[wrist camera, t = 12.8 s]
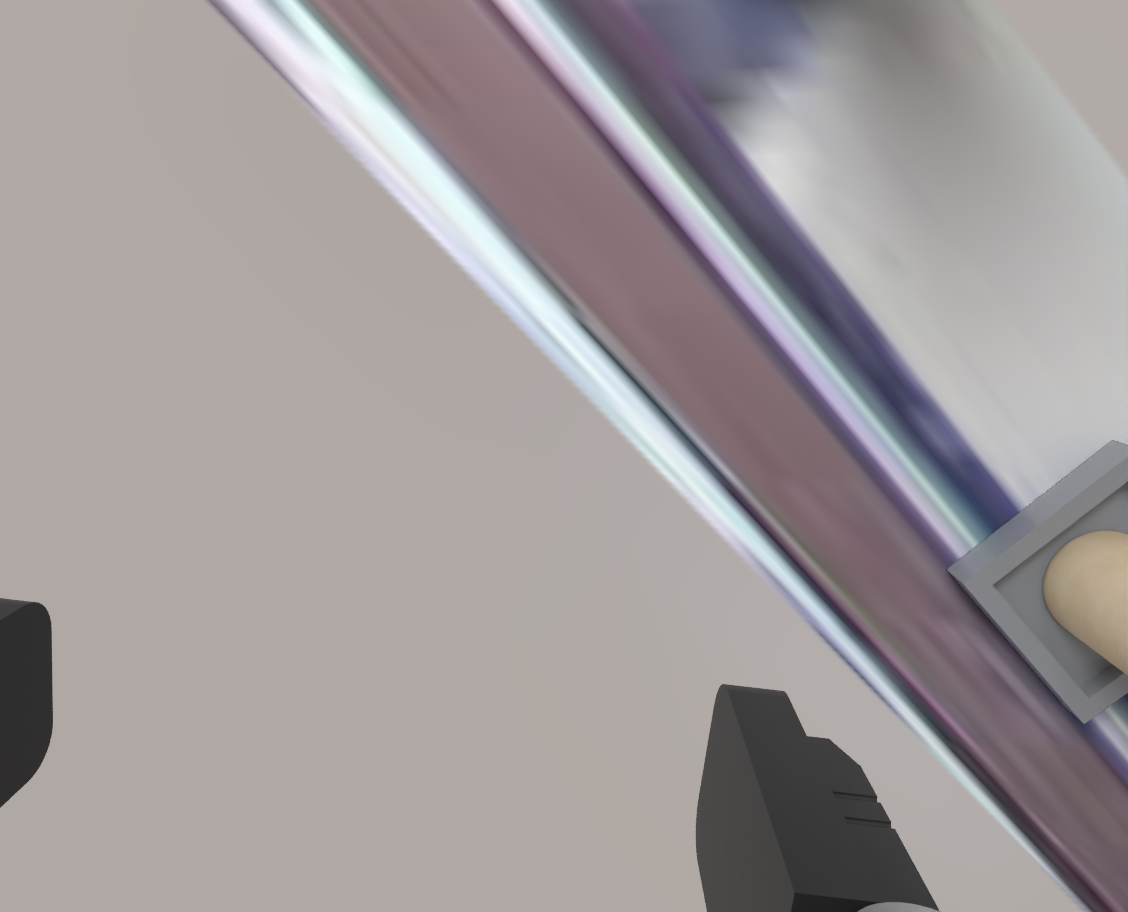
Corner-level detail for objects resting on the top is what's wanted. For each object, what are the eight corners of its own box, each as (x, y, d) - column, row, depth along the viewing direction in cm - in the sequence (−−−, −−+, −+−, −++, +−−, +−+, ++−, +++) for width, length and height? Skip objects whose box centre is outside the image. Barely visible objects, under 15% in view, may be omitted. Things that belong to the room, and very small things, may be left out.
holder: (946, 569, 44) (963, 583, 42) (1112, 440, 43) (1137, 448, 41) (1062, 704, 46) (1084, 724, 44) (1227, 584, 44) (1257, 599, 42)
